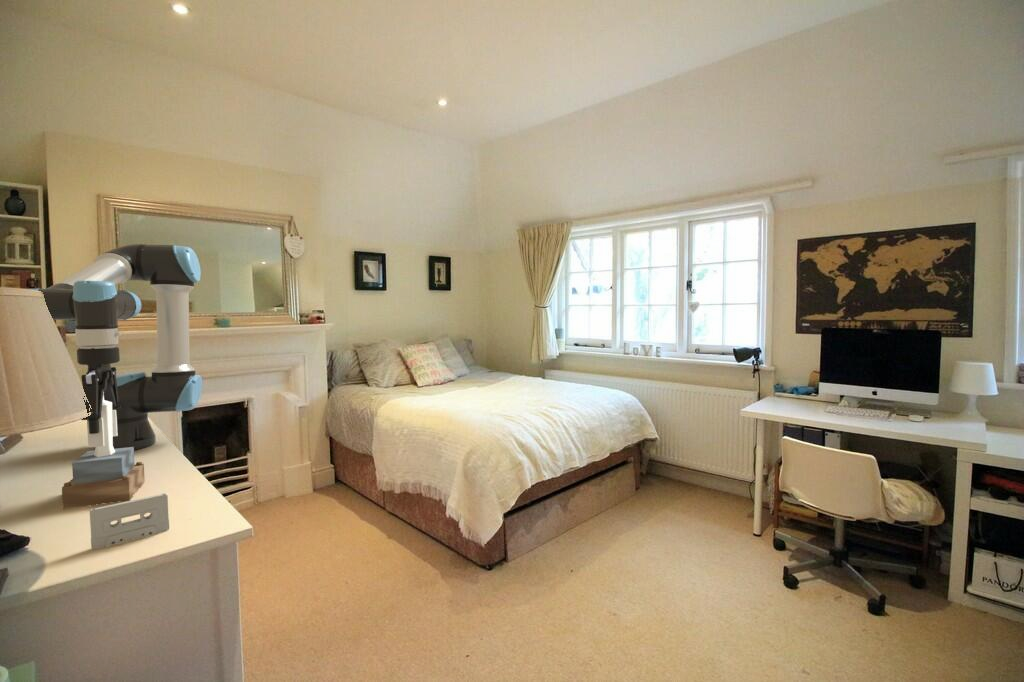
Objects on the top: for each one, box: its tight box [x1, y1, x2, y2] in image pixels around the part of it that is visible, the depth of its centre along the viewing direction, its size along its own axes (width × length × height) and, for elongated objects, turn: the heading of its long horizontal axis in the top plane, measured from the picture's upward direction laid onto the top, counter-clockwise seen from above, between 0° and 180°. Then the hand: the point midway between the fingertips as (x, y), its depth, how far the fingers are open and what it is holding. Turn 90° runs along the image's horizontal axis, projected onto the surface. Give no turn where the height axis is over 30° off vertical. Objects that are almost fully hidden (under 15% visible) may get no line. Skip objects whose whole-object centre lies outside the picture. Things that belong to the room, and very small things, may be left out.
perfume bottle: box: [91, 392, 115, 457], centre depth 112 cm, size 5×4×15 cm
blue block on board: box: [61, 447, 145, 510], centre depth 113 cm, size 12×12×10 cm
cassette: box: [89, 493, 170, 550], centre depth 93 cm, size 12×2×8 cm, turn 132°
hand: (103, 441), depth 112 cm, fingers open, 8 cm apart
